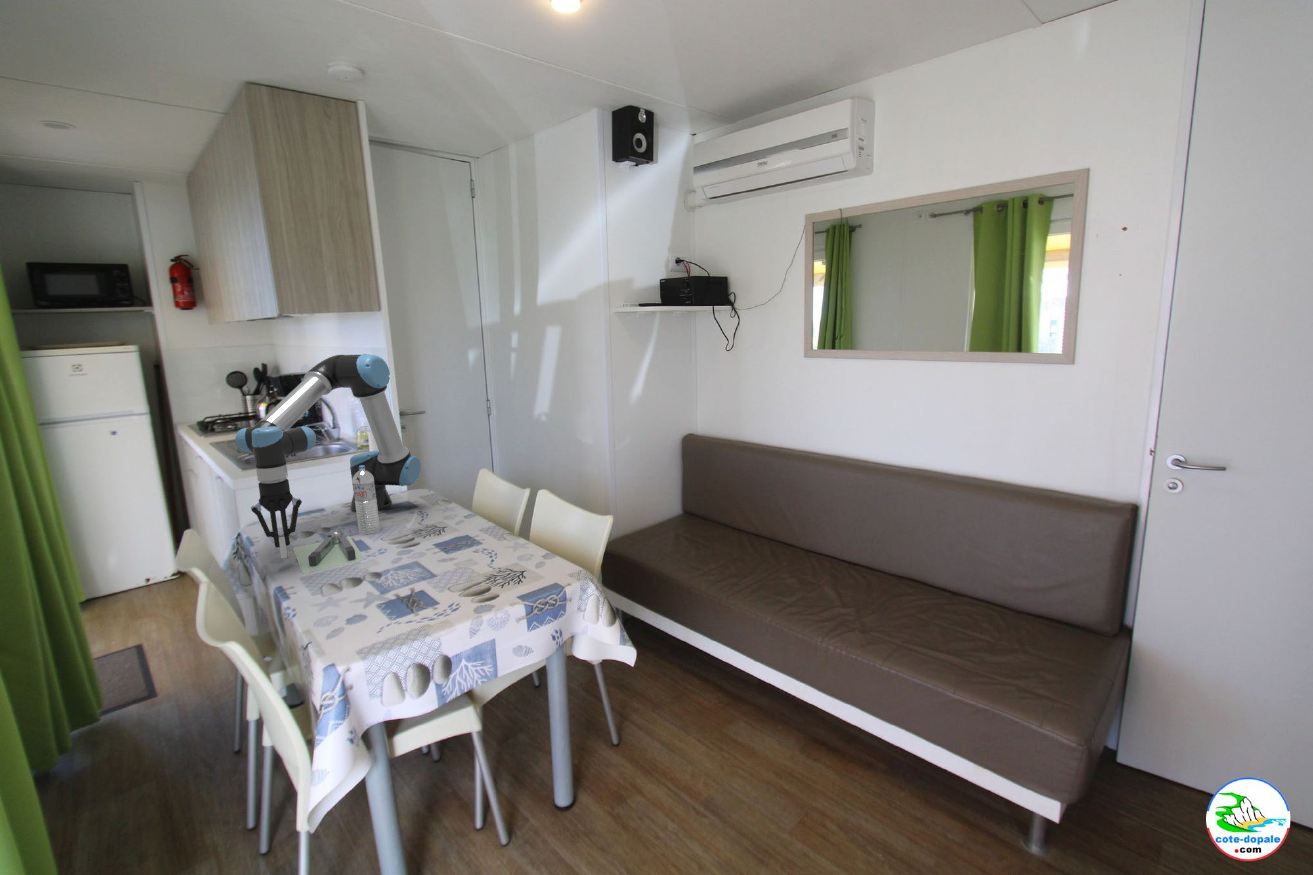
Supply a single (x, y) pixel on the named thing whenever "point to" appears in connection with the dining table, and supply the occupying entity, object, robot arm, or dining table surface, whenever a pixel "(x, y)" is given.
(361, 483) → the water bottle
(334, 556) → the board
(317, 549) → the bar
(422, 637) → the dining table surface
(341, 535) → the tongs fixed
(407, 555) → the dining table surface
